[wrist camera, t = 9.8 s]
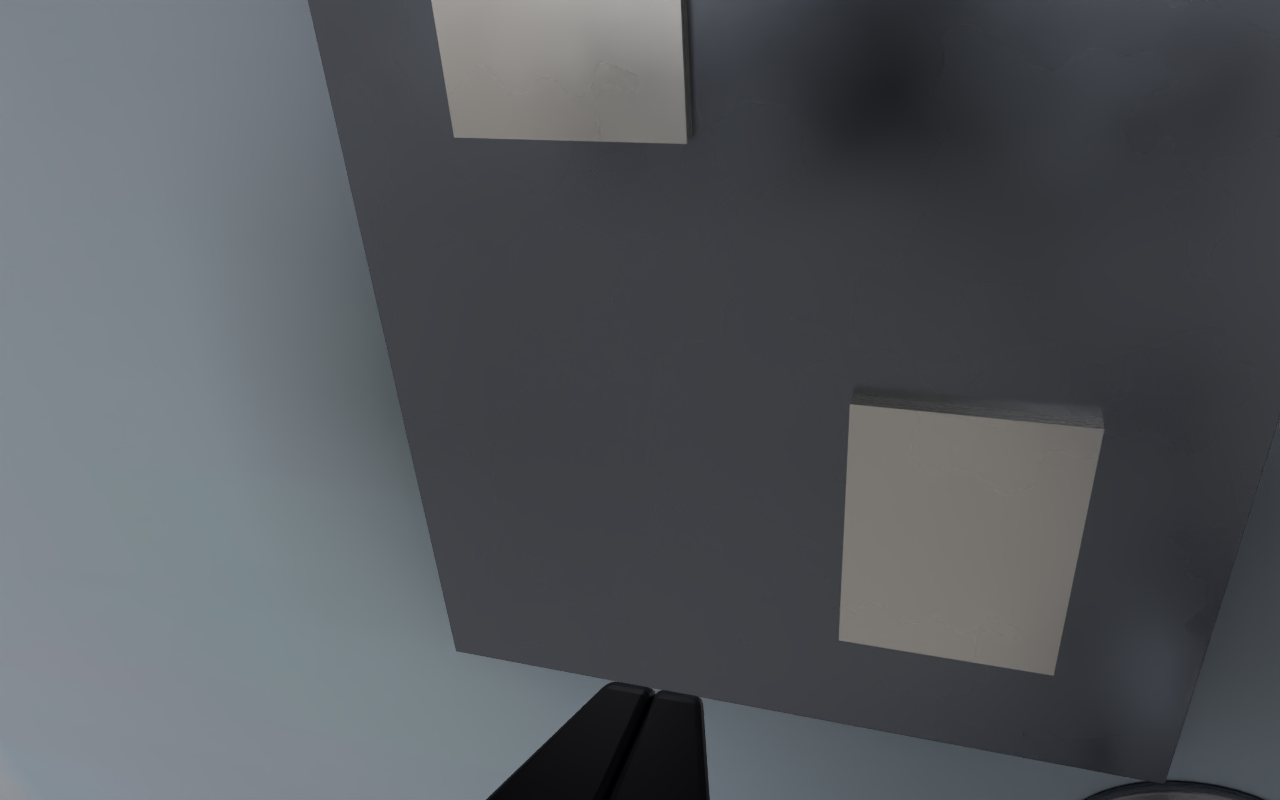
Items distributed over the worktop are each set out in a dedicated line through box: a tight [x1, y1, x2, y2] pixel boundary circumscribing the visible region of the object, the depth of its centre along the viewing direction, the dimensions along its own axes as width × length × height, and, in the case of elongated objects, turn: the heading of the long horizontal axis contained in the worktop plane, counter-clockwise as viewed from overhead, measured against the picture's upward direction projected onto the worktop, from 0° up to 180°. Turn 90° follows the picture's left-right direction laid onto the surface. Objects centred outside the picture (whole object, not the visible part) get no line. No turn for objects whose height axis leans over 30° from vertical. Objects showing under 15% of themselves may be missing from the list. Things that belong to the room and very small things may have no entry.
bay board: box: [308, 0, 1280, 784], centre depth 15 cm, size 18×14×1 cm
